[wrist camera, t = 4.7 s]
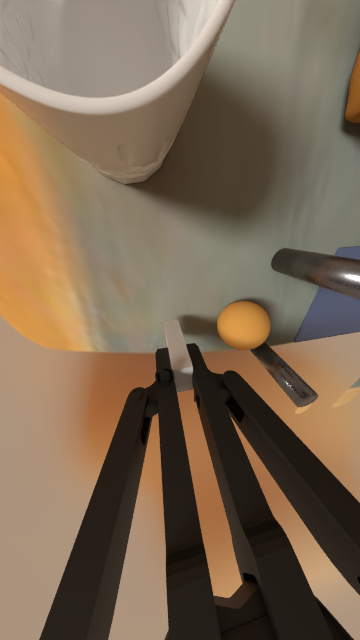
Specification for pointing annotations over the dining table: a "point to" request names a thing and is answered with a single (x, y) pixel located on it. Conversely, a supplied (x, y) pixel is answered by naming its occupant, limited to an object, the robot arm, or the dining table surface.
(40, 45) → the white cup
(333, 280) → the near post
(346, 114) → the coffee package
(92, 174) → the dining table surface
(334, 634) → the robot arm
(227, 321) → the ball
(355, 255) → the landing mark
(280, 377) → the far post
